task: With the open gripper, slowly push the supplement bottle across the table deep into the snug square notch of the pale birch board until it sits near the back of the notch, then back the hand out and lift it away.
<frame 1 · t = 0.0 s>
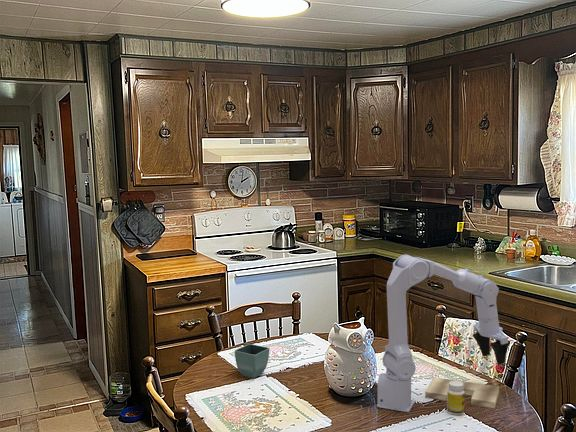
hand: (493, 359, 181), 11 cm above the table, tool pointing down, fingers open, 7 cm apart
flower pot: (252, 375, 199), on the table
notched board: (461, 398, 177), on the table
supplement bottle: (455, 412, 168), on the table
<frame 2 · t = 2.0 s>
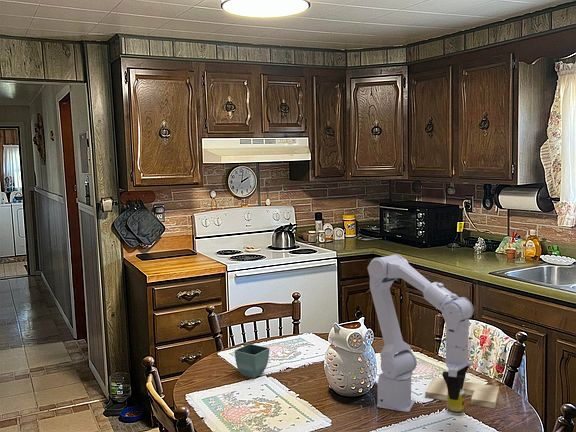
hand: (456, 393, 158), 9 cm above the table, tool pointing down, fingers open, 7 cm apart
nothing on the table moved.
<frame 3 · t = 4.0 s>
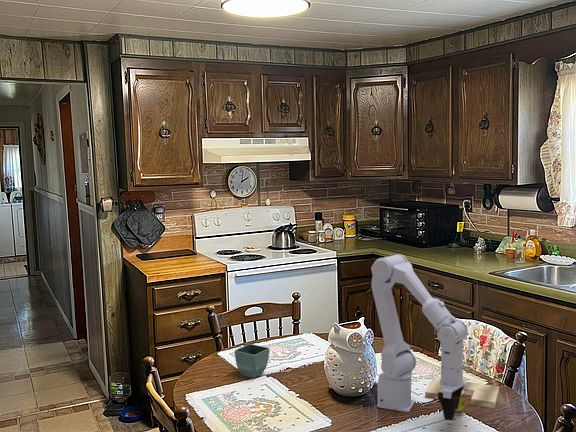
hand: (451, 413, 161), 3 cm above the table, tool pointing down, fingers open, 7 cm apart
supplement bottle: (455, 412, 168), on the table, touching gripper
everything else where it was.
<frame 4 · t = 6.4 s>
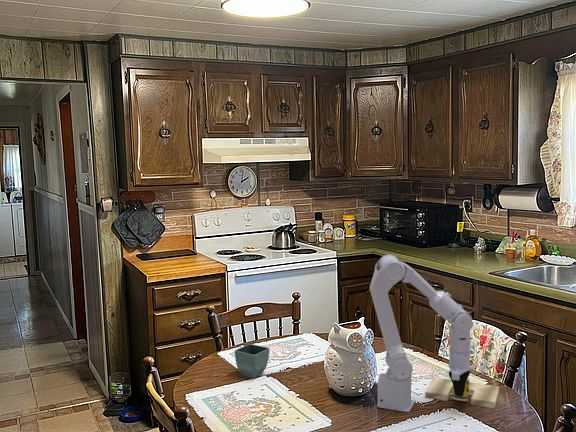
hand: (459, 395, 173), 3 cm above the table, tool pointing down, fingers closed, pressing on supplement bottle
supplement bottle: (459, 400, 175), on the table, touching gripper
everything else where it was.
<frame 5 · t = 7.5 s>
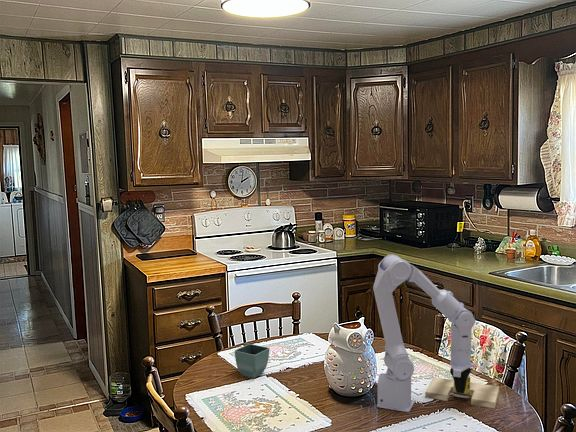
hand: (460, 392, 175), 3 cm above the table, tool pointing down, fingers closed, pressing on supplement bottle
supplement bottle: (460, 397, 177), on the table, touching gripper
everything else where it was.
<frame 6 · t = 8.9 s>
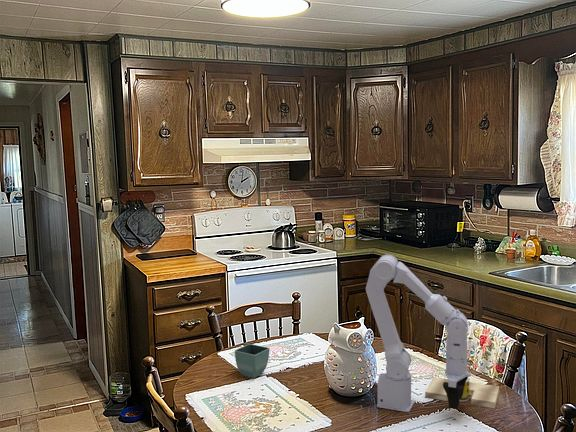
hand: (455, 402, 168), 3 cm above the table, tool pointing down, fingers open, 7 cm apart
supplement bottle: (460, 399, 177), on the table
everything else where it was.
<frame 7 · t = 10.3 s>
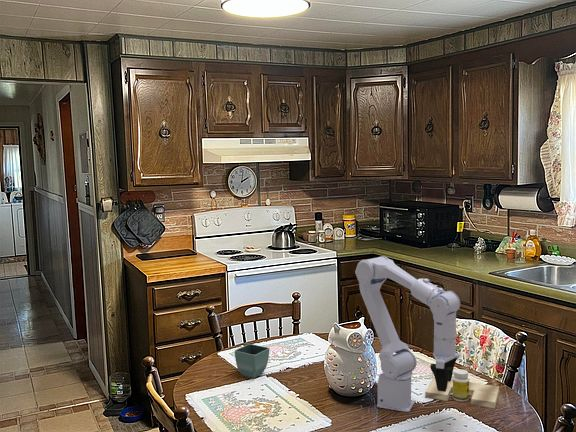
hand: (444, 385, 161), 10 cm above the table, tool pointing down, fingers open, 7 cm apart
nothing on the table moved.
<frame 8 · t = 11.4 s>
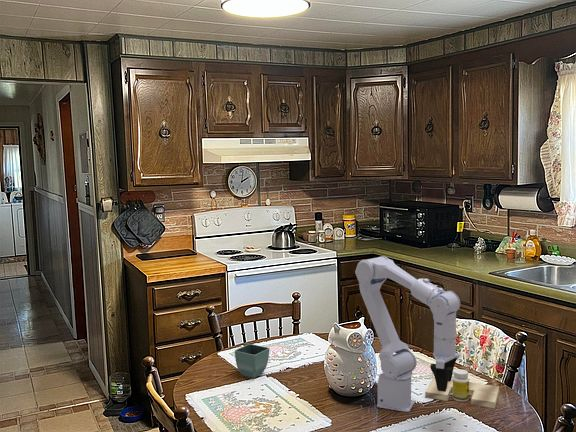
hand: (444, 385, 161), 10 cm above the table, tool pointing down, fingers open, 7 cm apart
nothing on the table moved.
at the end: supplement bottle 0.2 cm off-centre on the notched board, point 0.0 cm above the notched board's base; supplement bottle tilted 0°; the gripper is holding nothing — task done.
